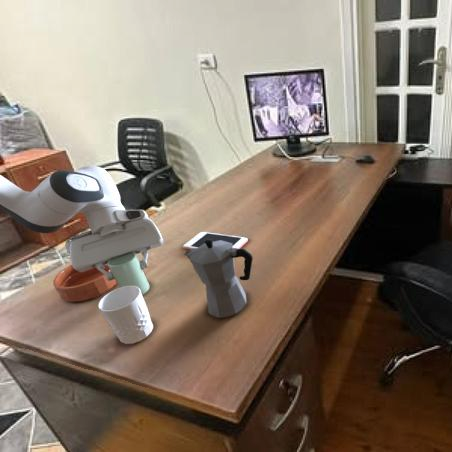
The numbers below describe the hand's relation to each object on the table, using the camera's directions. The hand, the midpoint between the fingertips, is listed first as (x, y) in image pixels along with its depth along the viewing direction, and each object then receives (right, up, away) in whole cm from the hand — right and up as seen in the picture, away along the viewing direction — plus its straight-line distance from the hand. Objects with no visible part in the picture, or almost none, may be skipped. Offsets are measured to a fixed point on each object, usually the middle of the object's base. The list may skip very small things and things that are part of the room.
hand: (128, 273), depth 87 cm
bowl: (-13, -4, +7) cm, 16 cm away
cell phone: (+15, +6, +20) cm, 26 cm away
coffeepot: (+27, -7, -5) cm, 29 cm away
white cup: (+8, -12, -10) cm, 17 cm away
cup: (0, -5, +3) cm, 6 cm away
